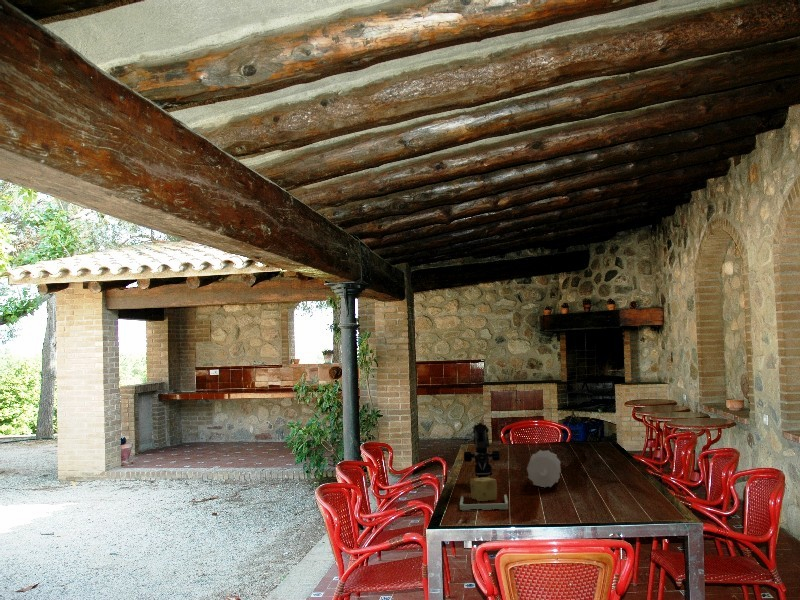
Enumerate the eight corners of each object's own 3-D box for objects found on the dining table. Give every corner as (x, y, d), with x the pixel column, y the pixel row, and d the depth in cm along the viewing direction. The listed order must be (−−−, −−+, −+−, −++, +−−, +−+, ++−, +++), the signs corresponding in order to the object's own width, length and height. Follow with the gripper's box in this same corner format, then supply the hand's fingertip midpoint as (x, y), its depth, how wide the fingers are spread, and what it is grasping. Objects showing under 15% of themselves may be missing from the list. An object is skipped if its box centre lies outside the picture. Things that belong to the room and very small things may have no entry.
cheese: (478, 502, 345) (477, 481, 345) (470, 498, 355) (469, 477, 356) (498, 499, 347) (496, 479, 348) (489, 495, 358) (488, 475, 358)
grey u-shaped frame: (461, 501, 348) (460, 496, 349) (506, 499, 346) (506, 494, 346) (460, 510, 329) (459, 505, 330) (508, 509, 327) (508, 503, 327)
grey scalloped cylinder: (554, 487, 387) (553, 495, 363) (523, 473, 392) (521, 480, 368) (566, 456, 387) (566, 462, 363) (536, 443, 392) (534, 448, 368)
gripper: (462, 436, 369) (463, 460, 358) (498, 434, 367) (500, 459, 356) (463, 448, 377) (464, 473, 365) (499, 447, 375) (501, 472, 363)
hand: (482, 469), depth 362 cm, fingers closed
